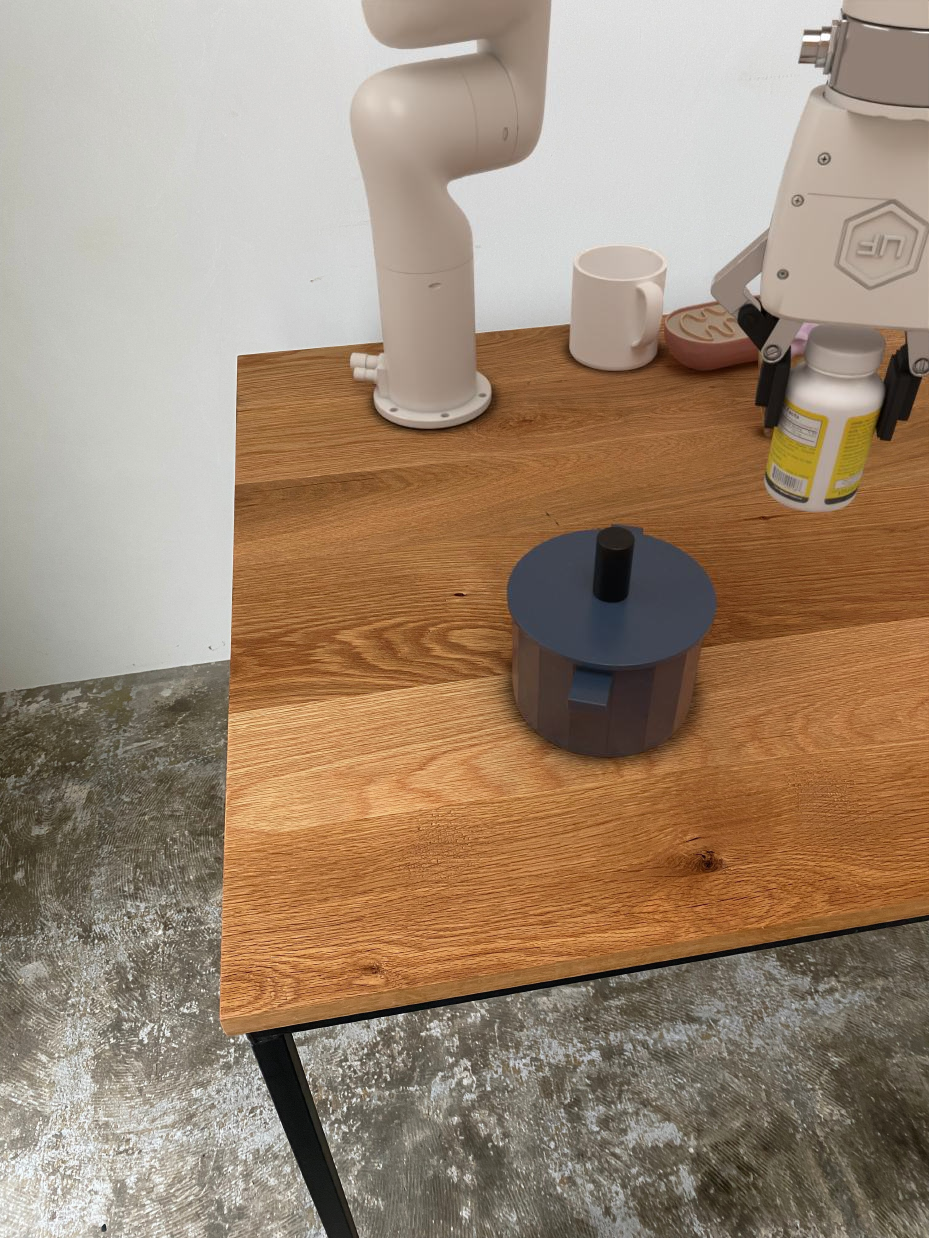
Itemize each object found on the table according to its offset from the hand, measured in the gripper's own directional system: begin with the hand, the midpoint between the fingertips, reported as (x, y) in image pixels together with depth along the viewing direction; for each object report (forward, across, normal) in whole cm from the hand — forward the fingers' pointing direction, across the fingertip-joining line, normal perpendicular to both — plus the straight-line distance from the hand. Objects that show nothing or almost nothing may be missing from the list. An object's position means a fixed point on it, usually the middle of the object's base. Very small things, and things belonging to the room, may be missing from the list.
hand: (826, 419), depth 53 cm
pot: (+22, -11, -3) cm, 25 cm away
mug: (+22, -17, +49) cm, 56 cm away
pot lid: (+13, -11, -3) cm, 17 cm away
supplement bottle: (+5, 0, 0) cm, 5 cm away
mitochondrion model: (+22, -2, +52) cm, 56 cm away
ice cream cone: (+22, 0, +35) cm, 41 cm away
